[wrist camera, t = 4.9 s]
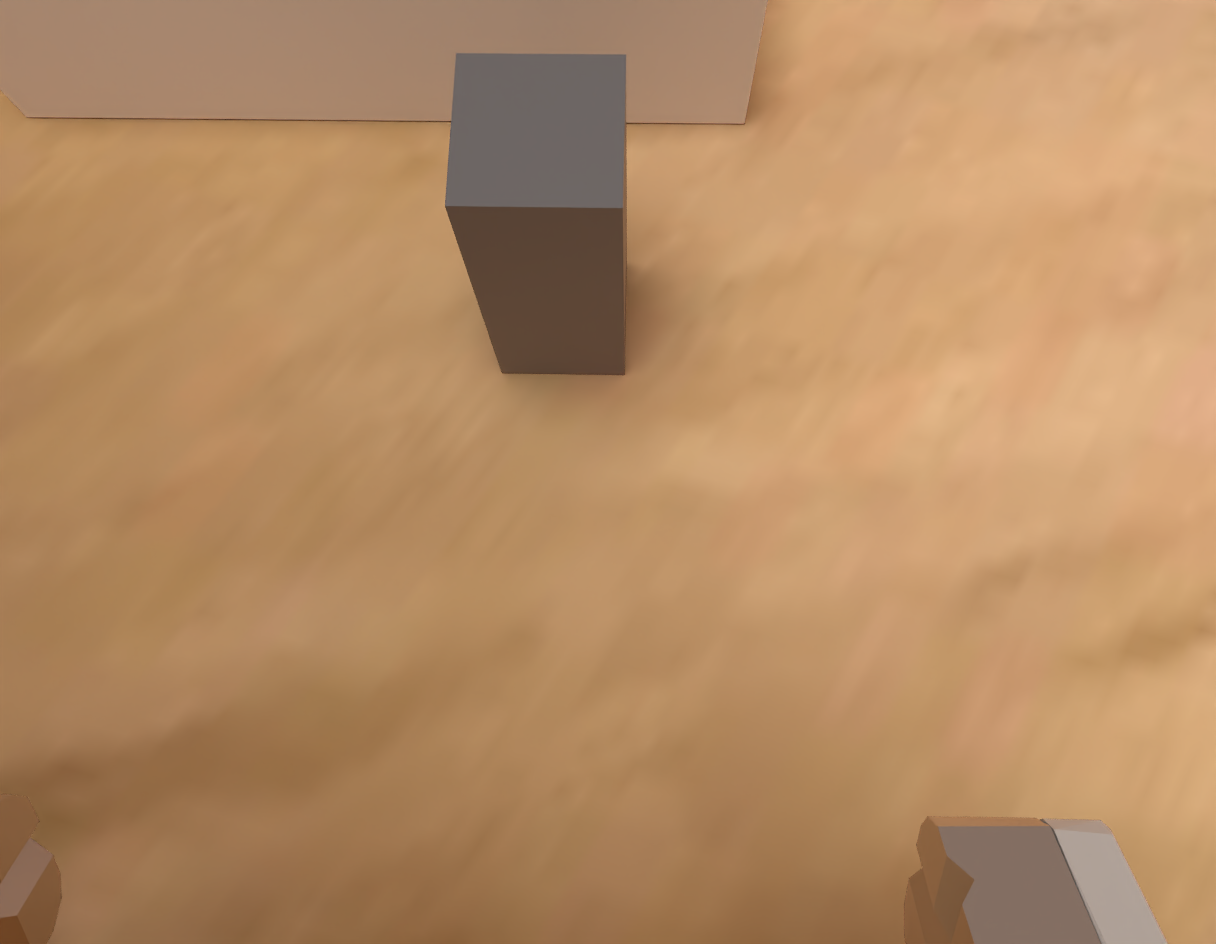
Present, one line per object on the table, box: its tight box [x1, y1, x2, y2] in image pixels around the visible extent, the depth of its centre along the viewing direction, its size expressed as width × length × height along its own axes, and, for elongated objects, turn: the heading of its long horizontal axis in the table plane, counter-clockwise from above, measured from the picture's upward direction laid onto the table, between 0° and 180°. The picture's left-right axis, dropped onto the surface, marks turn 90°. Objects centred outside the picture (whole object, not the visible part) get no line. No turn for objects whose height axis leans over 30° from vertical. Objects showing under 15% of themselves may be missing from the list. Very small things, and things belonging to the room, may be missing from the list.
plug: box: [445, 53, 627, 375], centre depth 21 cm, size 3×3×8 cm
